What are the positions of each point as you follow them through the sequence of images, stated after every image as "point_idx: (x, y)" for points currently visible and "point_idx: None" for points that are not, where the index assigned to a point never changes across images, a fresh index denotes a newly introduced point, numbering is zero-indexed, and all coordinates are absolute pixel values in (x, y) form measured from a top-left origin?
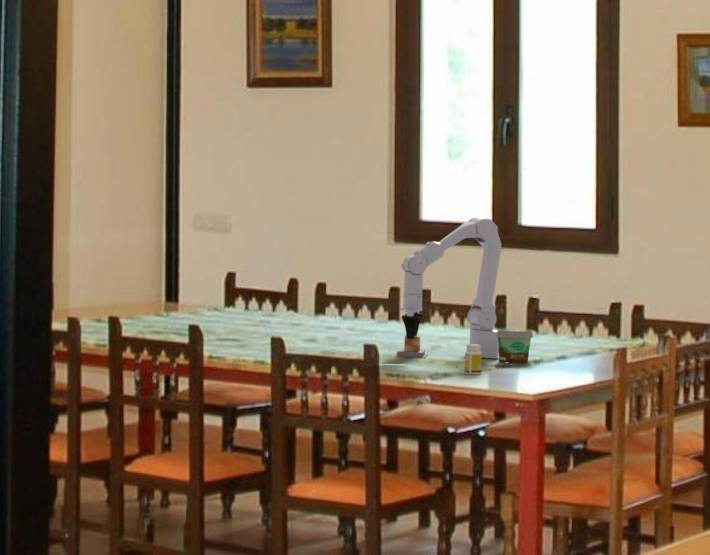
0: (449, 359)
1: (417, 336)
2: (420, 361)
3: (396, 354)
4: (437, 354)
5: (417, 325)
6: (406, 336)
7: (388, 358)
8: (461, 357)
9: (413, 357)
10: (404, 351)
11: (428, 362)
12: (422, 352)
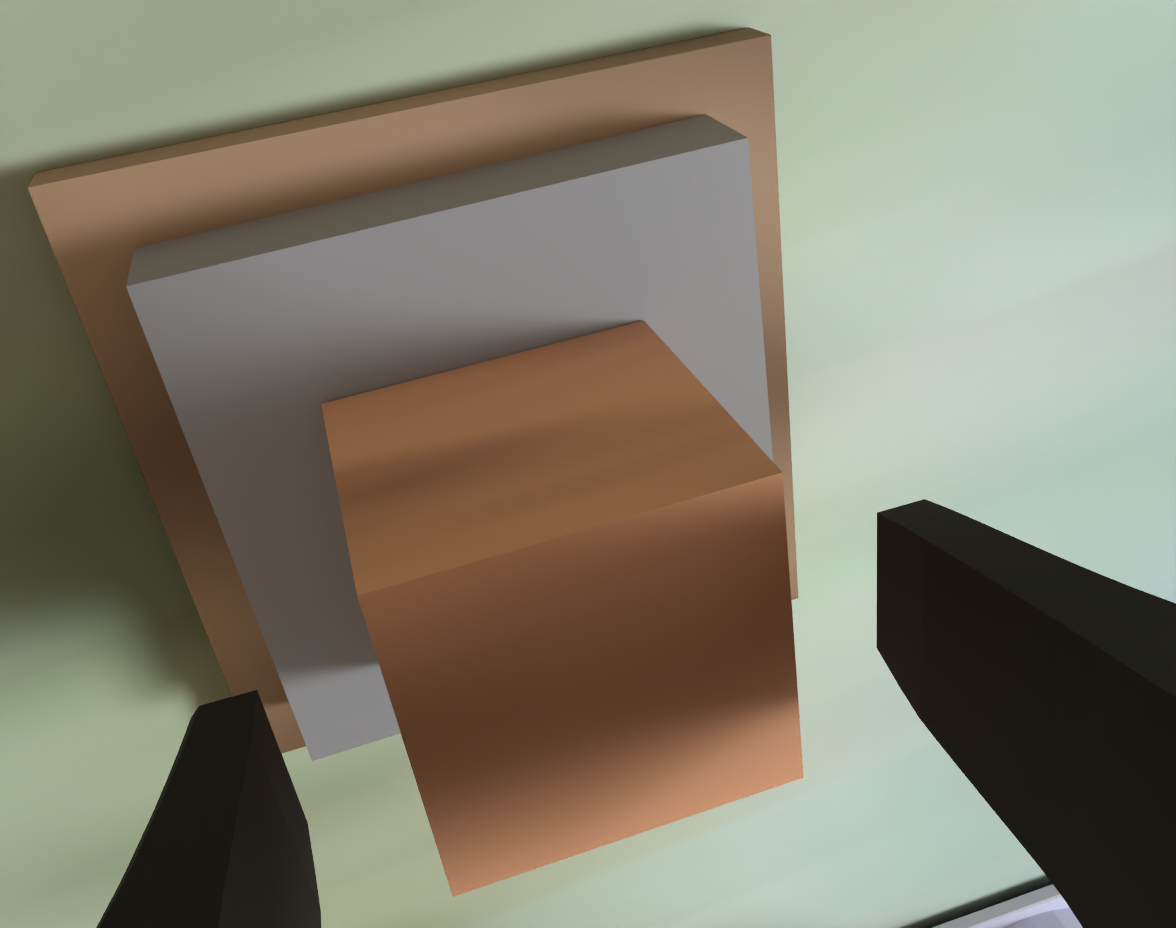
0: (613, 885)
1: (617, 798)
2: (74, 723)
3: (491, 116)
4: (1096, 566)
5: (1068, 869)
6: (474, 600)
7: (63, 32)
8: (886, 886)
9: (201, 584)
10: (287, 418)
11: (41, 856)
12: (348, 742)
